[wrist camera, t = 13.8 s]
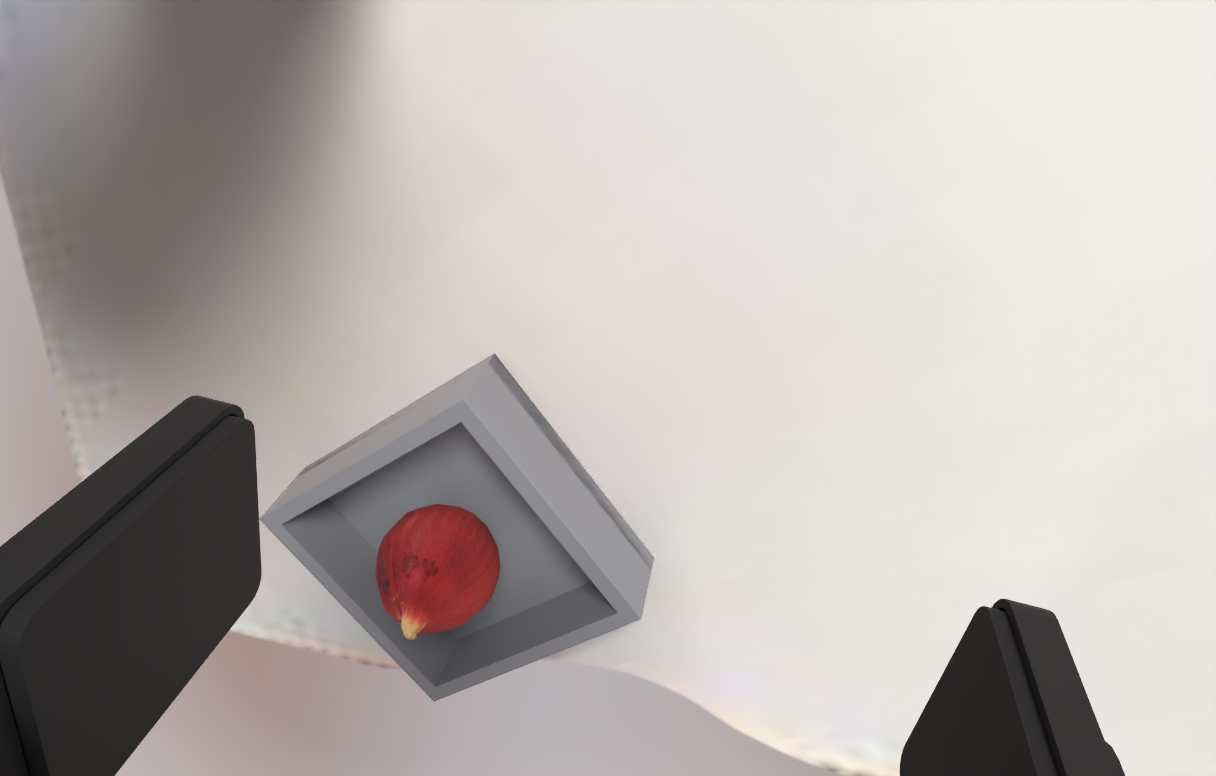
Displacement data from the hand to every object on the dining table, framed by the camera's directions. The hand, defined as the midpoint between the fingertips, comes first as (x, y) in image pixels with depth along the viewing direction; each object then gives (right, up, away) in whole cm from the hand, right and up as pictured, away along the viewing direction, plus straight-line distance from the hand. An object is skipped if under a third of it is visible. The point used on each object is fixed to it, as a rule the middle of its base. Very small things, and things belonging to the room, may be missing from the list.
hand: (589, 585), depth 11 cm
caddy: (-7, -4, +34) cm, 35 cm away
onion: (-7, -4, +33) cm, 34 cm away
